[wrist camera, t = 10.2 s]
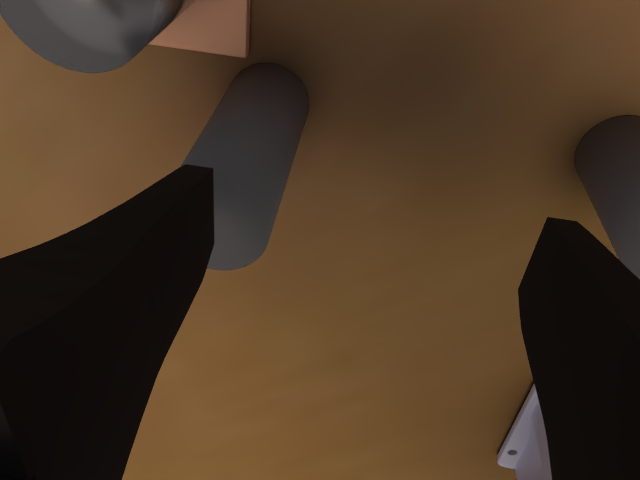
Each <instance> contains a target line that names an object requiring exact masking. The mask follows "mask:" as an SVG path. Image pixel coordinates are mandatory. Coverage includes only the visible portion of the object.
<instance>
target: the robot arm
mask: <svg viewBox="0 0 640 480" xmlns="http://www.w3.org/2000/svg"><path fill="white" fill-rule="evenodd" d="M214 243H215V242H214V181H213V168H209V167H202V166H195V165H188V164H185V165H183V166H182V167H180V168H178V169H177V170H175V171H173V172H172V173H170V174H169V175H167V176H166V177H164V178H162V179H161V180H159V181H158V182H156V183H155V184H153V185H152V186H150V187H149V188H147V189H145V190H144V191H142V192H141V193H139V194H137V195H136V196H134V197H133V198H131V199H129V200H128V201H126V202H124V203H123V204H121V205H119V206H117V207H116V208H114V209H112V210H110V211H108V212H107V213H105V214H103V215H101V216H99V217H98V218H96V219H94V220H92V221H90V222H88V223H87V224H85V225H83V226H81V227H79V228H76V229H74V230H72V231H70V232H68V233H66V234H63V235H61V236H59V237H56V238H54V239H52V240H50V241H47V242H45V243H42V244H40V245H37V246H35V247H32V248H29V249H26V250H23V251H21V252H18V253H15V254H12V255H9V256H6V257H4V258H1V259H0V480H122V477H123V474H124V471H125V467H126V464H127V461H128V458H129V455H130V452H131V449H132V446H133V443H134V440H135V437H136V434H137V431H138V428H139V425H140V422H141V419H142V416H143V413H144V411H145V408H146V405H147V402H148V399H149V397H150V394H151V391H152V388H153V385H154V383H155V380H156V377H157V375H158V372H159V370H160V368H161V365H162V363H163V361H164V358H165V356H166V354H167V352H168V350H169V348H170V346H171V344H172V342H173V340H174V338H175V336H176V334H177V332H178V330H179V328H180V326H181V324H182V322H183V320H184V318H185V316H186V314H187V312H188V310H189V308H190V306H191V304H192V301H193V299H194V297H195V295H196V293H197V291H198V289H199V287H200V285H201V283H202V281H203V278H204V275H205V272H206V269H207V266H208V263H209V260H210V256H211V253H212V250H213V247H214ZM518 295H519V309H520V320H521V329H522V334H523V339H524V343H525V347H526V351H527V356H528V360H529V364H530V368H531V372H532V376H533V380H534V385H533V387H532V389H531V391H530V393H529V395H528V397H527V398H526V400H525V402H524V404H523V406H522V408H521V410H520V412H519V414H518V416H517V418H516V420H515V422H514V424H513V426H512V428H511V430H510V432H509V434H508V436H507V438H506V440H505V441H504V443H503V445H502V447H501V449H500V451H499V453H498V455H497V462H498V464H499V465H500V466H502V467H506V468H512V469H515V472H516V478H517V480H640V279H639V278H638V277H637V276H636V275H634V274H633V273H632V272H631V271H630V270H629V269H628V268H627V267H626V266H625V265H624V264H623V263H622V262H621V261H620V260H619V259H617V258H616V257H615V256H614V255H613V254H612V253H611V252H610V251H609V250H608V249H607V248H606V247H605V246H604V245H603V244H602V243H601V242H600V241H599V240H597V239H596V238H595V237H594V236H593V235H592V234H591V233H590V232H589V231H588V230H587V229H585V228H584V227H583V226H582V225H581V224H579V223H578V222H577V221H571V220H564V219H557V218H550V217H547V219H546V222H545V224H544V227H543V229H542V232H541V234H540V237H539V239H538V242H537V244H536V247H535V249H534V251H533V254H532V256H531V259H530V261H529V264H528V266H527V269H526V271H525V274H524V276H523V279H522V281H521V283H520V286H519V288H518Z"/></svg>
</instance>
